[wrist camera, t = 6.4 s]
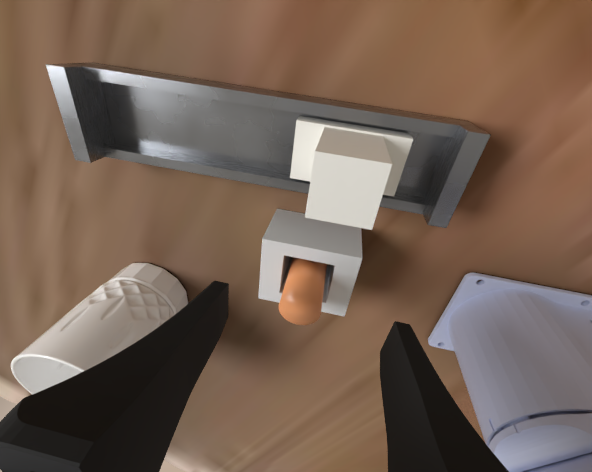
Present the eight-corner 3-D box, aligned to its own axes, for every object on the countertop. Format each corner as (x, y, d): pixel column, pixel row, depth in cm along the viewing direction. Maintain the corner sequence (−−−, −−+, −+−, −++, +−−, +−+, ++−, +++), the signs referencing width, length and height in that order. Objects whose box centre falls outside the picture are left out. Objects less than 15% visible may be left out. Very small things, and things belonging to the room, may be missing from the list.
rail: (467, 120, 16) (490, 134, 13) (432, 202, 19) (446, 228, 16) (92, 62, 17) (45, 64, 15) (112, 145, 20) (75, 159, 18)
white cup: (210, 296, 27) (145, 406, 18) (169, 329, 31) (100, 432, 22) (136, 240, 25) (25, 338, 16) (103, 283, 28) (-1, 380, 20)
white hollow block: (361, 224, 20) (362, 258, 17) (345, 278, 23) (344, 316, 20) (277, 208, 21) (262, 238, 17) (272, 263, 23) (258, 298, 20)
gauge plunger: (329, 252, 19) (324, 299, 16) (323, 279, 21) (317, 328, 17) (294, 245, 19) (280, 290, 16) (290, 272, 21) (277, 320, 17)
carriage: (409, 133, 16) (433, 168, 11) (391, 188, 17) (405, 238, 13) (299, 115, 16) (277, 142, 11) (293, 170, 18) (271, 213, 13)
